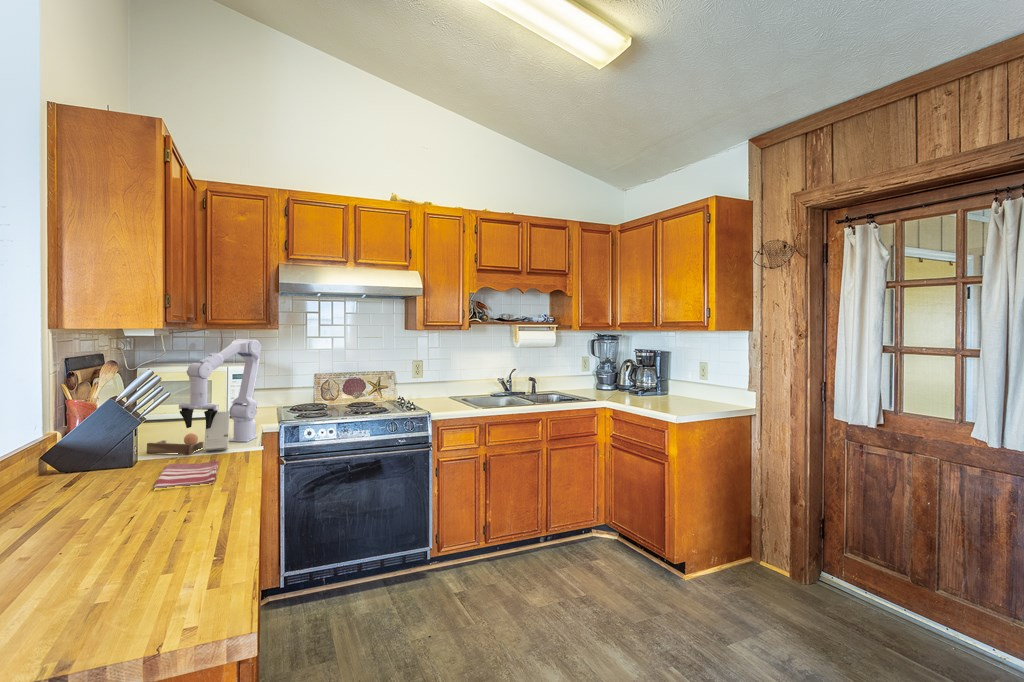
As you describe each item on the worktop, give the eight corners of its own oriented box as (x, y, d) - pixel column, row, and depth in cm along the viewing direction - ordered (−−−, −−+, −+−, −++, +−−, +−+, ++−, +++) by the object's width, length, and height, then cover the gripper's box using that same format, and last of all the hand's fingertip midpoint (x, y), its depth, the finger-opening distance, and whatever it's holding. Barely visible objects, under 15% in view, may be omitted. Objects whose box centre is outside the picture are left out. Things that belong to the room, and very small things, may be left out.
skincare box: (204, 449, 196) (205, 411, 199) (205, 450, 201) (206, 413, 205) (228, 447, 200) (229, 410, 203) (229, 448, 205) (229, 412, 208)
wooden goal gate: (163, 447, 203) (163, 437, 203) (204, 449, 203) (204, 439, 203) (146, 453, 194) (146, 443, 193) (189, 455, 194) (189, 444, 193)
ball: (188, 443, 210) (188, 431, 210) (200, 444, 210) (200, 432, 210) (180, 446, 205) (181, 434, 205) (193, 447, 205) (193, 435, 205)
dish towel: (219, 466, 183) (219, 459, 183) (214, 486, 162) (215, 478, 162) (163, 471, 175) (163, 463, 175) (151, 493, 154) (151, 484, 154)
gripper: (173, 394, 193) (173, 429, 194) (211, 395, 193) (211, 430, 194) (185, 391, 200) (185, 425, 201) (221, 393, 200) (221, 426, 201)
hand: (198, 427), depth 198 cm, fingers open, 7 cm apart
